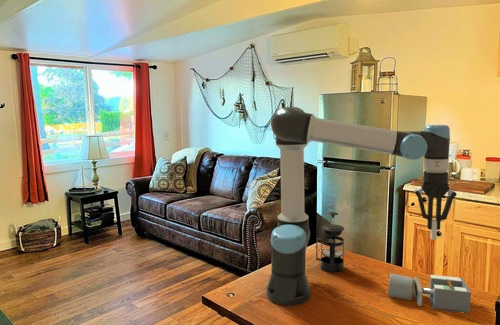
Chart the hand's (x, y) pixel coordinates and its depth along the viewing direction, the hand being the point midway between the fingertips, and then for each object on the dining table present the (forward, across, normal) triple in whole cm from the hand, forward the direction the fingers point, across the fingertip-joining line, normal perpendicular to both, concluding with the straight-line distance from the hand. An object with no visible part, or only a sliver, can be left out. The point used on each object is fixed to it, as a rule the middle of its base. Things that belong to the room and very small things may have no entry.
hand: (433, 238), depth 129 cm
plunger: (+18, 0, -9) cm, 20 cm away
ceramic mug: (+19, -11, -7) cm, 23 cm away
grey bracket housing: (+19, +3, -8) cm, 21 cm away
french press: (+19, -36, +10) cm, 42 cm away
